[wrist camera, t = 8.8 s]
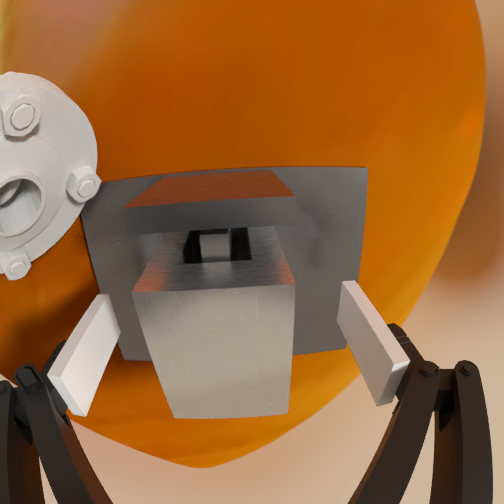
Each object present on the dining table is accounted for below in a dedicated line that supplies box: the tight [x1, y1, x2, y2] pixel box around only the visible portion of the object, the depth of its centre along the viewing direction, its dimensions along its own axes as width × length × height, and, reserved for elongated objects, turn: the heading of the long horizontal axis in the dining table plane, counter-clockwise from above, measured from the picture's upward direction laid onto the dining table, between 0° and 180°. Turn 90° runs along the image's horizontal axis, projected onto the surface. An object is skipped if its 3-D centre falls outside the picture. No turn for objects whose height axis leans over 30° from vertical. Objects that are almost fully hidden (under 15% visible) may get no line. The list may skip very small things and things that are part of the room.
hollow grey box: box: [132, 226, 296, 419], centre depth 15 cm, size 6×8×8 cm
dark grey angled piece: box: [81, 166, 368, 361], centre depth 16 cm, size 18×14×8 cm
